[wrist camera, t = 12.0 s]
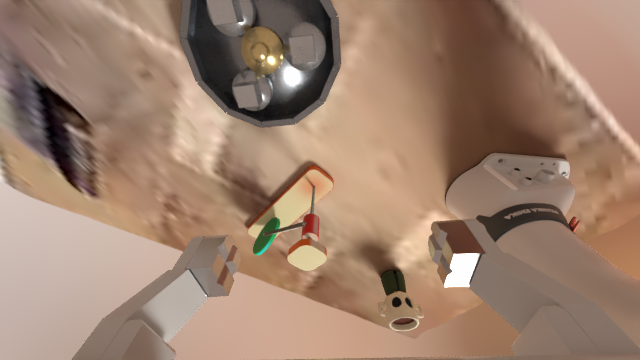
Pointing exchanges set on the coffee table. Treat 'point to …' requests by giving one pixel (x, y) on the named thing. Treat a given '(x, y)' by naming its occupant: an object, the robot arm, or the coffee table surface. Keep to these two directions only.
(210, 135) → the coffee table surface
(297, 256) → the crank mechanism
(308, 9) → the carrier
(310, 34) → the gear
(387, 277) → the character mug
